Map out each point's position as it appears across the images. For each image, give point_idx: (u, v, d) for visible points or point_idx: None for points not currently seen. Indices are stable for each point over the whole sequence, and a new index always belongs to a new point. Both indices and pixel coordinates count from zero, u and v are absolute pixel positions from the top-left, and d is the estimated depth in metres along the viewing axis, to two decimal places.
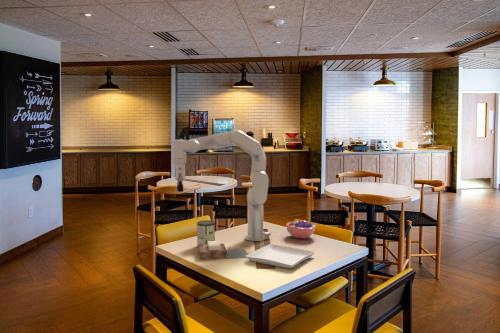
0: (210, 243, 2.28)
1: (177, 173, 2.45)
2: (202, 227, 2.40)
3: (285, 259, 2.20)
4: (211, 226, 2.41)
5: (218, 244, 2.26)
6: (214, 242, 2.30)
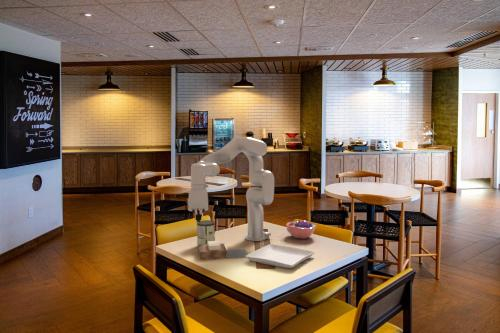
0: (210, 243, 2.28)
1: (207, 199, 2.24)
2: (202, 227, 2.40)
3: (285, 259, 2.20)
4: (211, 226, 2.41)
5: (218, 244, 2.26)
6: (214, 242, 2.30)
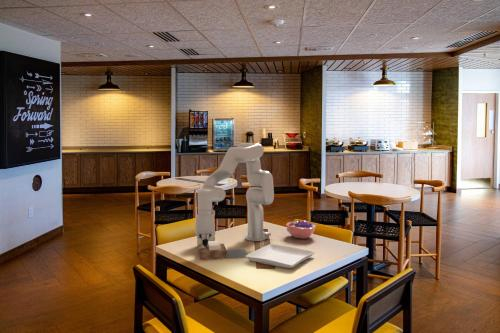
0: (210, 243, 2.28)
1: (214, 225, 2.26)
2: None
3: (285, 259, 2.20)
4: None
5: (218, 244, 2.26)
6: (214, 242, 2.30)
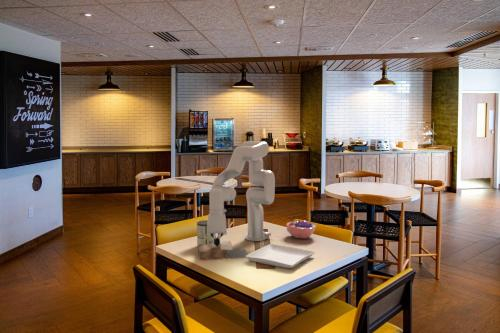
0: (222, 242, 2.29)
1: None
2: (202, 227, 2.40)
3: (285, 259, 2.20)
4: None
5: (230, 244, 2.27)
6: (226, 242, 2.31)
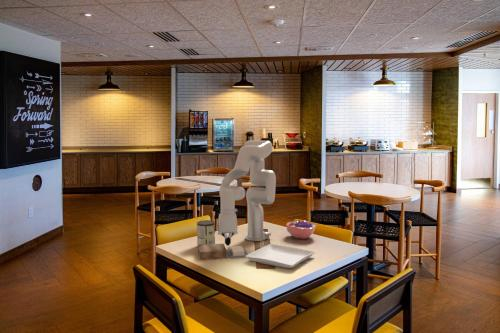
0: None
1: None
2: (202, 227, 2.40)
3: (285, 259, 2.20)
4: (211, 226, 2.41)
5: None
6: None
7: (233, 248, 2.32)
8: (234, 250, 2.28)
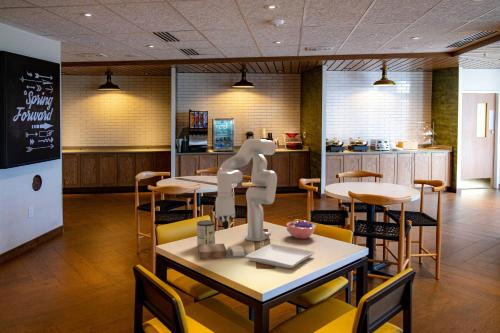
0: None
1: (234, 207, 2.28)
2: (202, 227, 2.40)
3: (285, 259, 2.20)
4: (211, 226, 2.41)
5: None
6: None
7: (233, 248, 2.32)
8: (234, 250, 2.28)
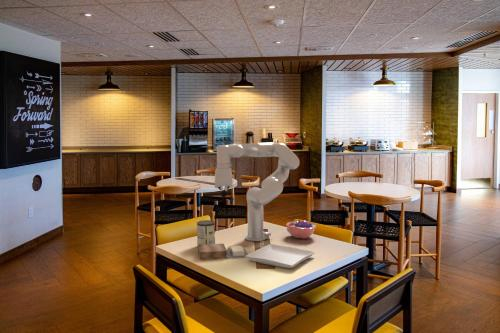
0: None
1: None
2: (202, 227, 2.40)
3: (285, 259, 2.20)
4: (211, 226, 2.41)
5: None
6: None
7: (233, 248, 2.32)
8: (234, 250, 2.28)
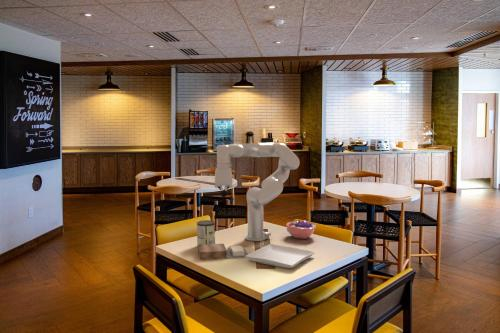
0: None
1: None
2: (202, 227, 2.40)
3: (285, 259, 2.20)
4: (211, 226, 2.41)
5: None
6: None
7: (233, 248, 2.32)
8: (234, 250, 2.28)
